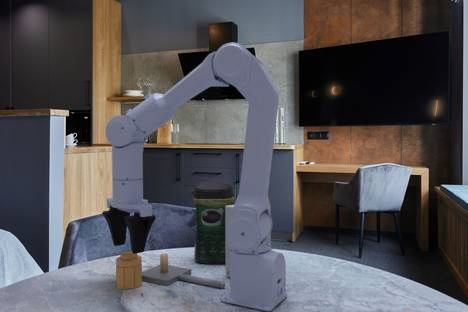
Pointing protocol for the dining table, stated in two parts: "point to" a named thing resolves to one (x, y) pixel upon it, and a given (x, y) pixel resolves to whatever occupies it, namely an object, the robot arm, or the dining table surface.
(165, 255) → the gray square paddle
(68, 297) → the dining table surface
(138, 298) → the dining table surface
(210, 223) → the coffee jar
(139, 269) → the wire nut
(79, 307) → the dining table surface
